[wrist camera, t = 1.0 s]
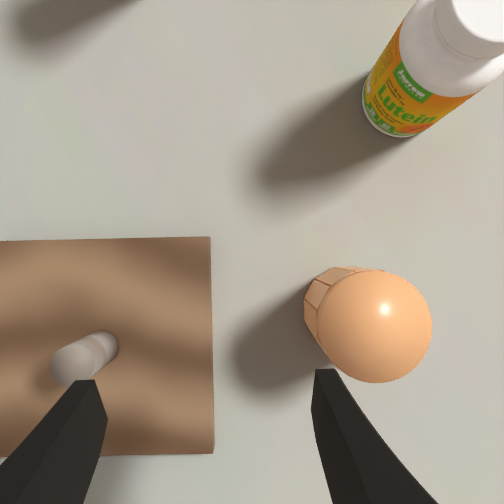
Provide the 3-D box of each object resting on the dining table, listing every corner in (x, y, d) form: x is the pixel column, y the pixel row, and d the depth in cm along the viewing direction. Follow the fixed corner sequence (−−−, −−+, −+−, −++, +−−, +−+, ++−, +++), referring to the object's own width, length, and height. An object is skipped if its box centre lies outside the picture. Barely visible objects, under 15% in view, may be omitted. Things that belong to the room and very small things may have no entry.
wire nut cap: (388, 349, 24) (433, 381, 18) (304, 351, 24) (321, 384, 18) (386, 266, 24) (430, 270, 18) (302, 267, 24) (318, 272, 18)
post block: (214, 445, 24) (203, 496, 19) (7, 448, 24) (-58, 500, 19) (210, 237, 24) (198, 232, 19) (4, 241, 24) (-63, 238, 19)
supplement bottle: (347, 120, 24) (410, 27, 14) (379, 47, 24) (465, -97, 14) (420, 152, 24) (535, 81, 14) (452, 79, 24) (590, -43, 14)
